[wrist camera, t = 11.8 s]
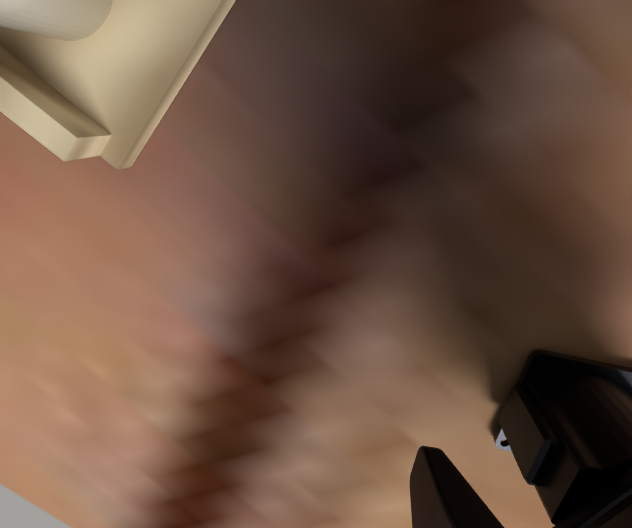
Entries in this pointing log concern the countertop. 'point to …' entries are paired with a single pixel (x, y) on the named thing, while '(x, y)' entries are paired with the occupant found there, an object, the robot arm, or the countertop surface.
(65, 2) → the mill
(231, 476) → the countertop surface
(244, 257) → the countertop surface
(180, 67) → the stand
